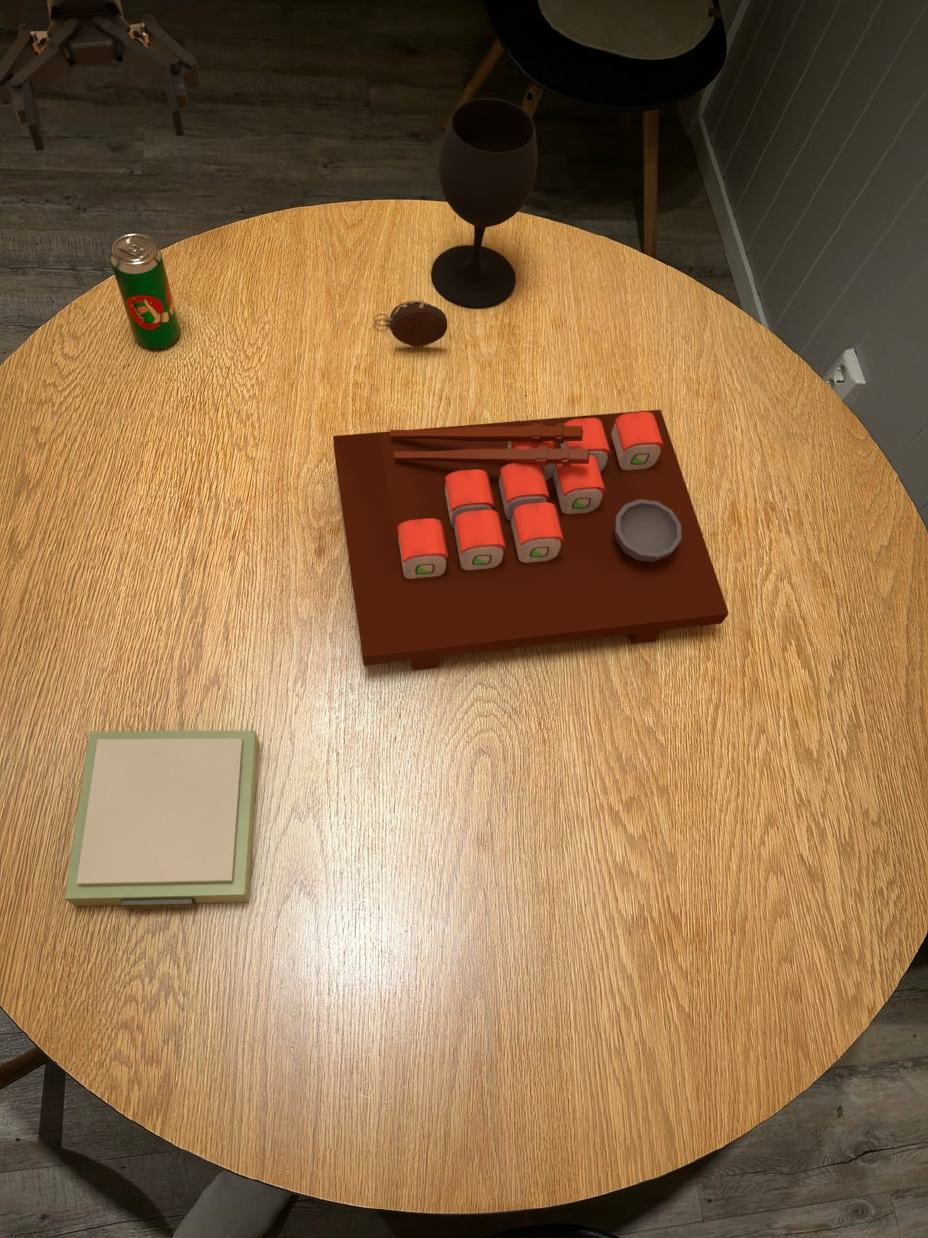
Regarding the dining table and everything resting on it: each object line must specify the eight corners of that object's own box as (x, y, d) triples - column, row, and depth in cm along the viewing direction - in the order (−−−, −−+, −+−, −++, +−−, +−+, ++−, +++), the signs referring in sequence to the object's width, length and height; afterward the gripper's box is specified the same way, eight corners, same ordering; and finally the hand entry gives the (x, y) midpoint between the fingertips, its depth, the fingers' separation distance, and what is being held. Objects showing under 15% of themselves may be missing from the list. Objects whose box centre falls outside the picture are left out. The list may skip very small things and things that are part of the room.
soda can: (154, 311, 106) (130, 223, 96) (190, 331, 105) (170, 244, 95) (124, 338, 104) (96, 251, 93) (160, 359, 103) (137, 273, 93)
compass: (440, 305, 111) (444, 256, 104) (444, 357, 107) (449, 309, 101) (372, 304, 110) (372, 255, 103) (374, 356, 106) (374, 308, 100)
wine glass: (412, 270, 113) (421, 116, 95) (476, 234, 117) (495, 79, 99) (470, 322, 110) (490, 172, 92) (533, 283, 114) (564, 133, 96)
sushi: (334, 462, 99) (330, 385, 88) (649, 435, 104) (681, 360, 94) (363, 677, 88) (363, 618, 77) (713, 634, 94) (757, 574, 83)
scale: (73, 912, 76) (60, 903, 73) (98, 743, 83) (86, 727, 79) (248, 908, 78) (243, 899, 74) (259, 742, 84) (254, 727, 81)
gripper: (206, 28, 107) (239, 150, 99) (-25, 47, 102) (-12, 177, 94) (195, -43, 101) (229, 81, 92) (-53, -26, 96) (-41, 107, 87)
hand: (108, 130), depth 93 cm, fingers open, 13 cm apart
